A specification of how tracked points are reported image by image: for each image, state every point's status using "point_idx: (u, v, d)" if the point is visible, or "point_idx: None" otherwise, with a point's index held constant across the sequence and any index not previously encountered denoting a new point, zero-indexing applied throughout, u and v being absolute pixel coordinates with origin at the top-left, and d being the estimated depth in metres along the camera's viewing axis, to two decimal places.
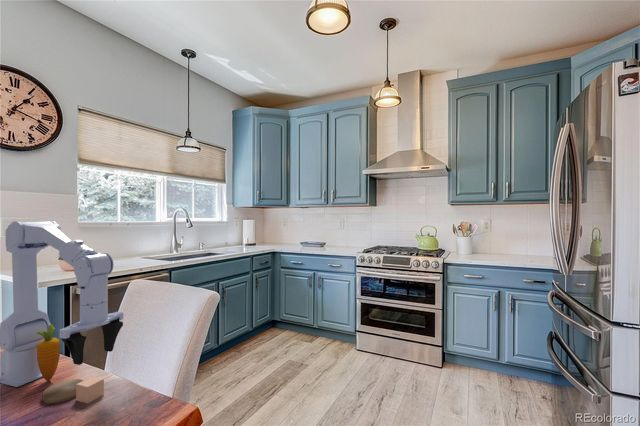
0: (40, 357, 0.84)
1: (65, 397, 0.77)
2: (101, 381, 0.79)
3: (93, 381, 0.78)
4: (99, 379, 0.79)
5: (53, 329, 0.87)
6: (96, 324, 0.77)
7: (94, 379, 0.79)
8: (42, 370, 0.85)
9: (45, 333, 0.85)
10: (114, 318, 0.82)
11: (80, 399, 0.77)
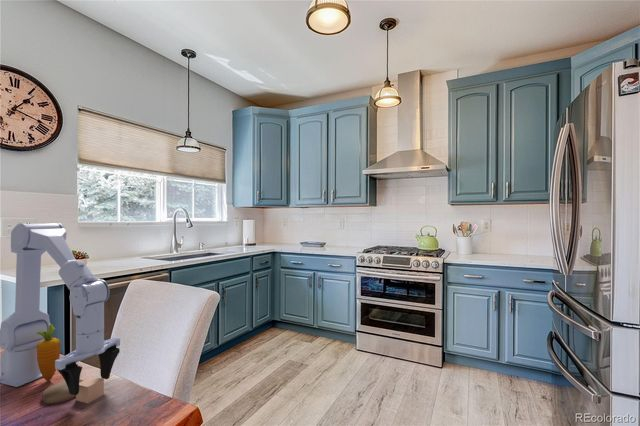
0: (40, 357, 0.84)
1: (65, 397, 0.77)
2: (101, 381, 0.79)
3: (93, 381, 0.78)
4: (99, 379, 0.79)
5: (53, 329, 0.87)
6: (92, 353, 0.76)
7: (94, 379, 0.79)
8: (42, 370, 0.85)
9: (45, 333, 0.85)
10: (110, 345, 0.82)
11: (80, 399, 0.77)
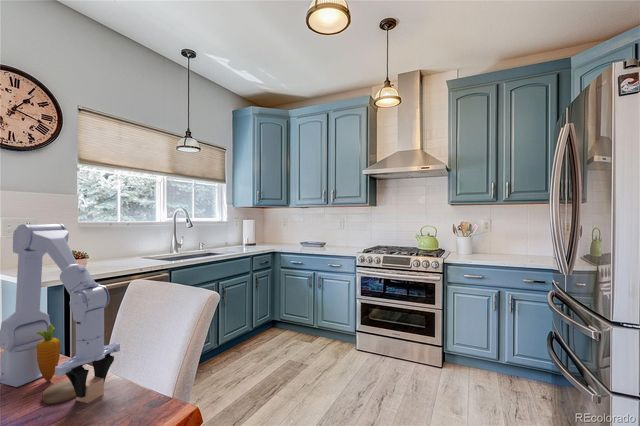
0: (40, 357, 0.84)
1: (65, 397, 0.77)
2: (101, 381, 0.79)
3: (93, 381, 0.78)
4: (99, 379, 0.79)
5: (53, 329, 0.87)
6: (92, 359, 0.76)
7: (94, 379, 0.79)
8: (42, 370, 0.85)
9: (45, 333, 0.85)
10: (110, 351, 0.82)
11: (80, 399, 0.77)
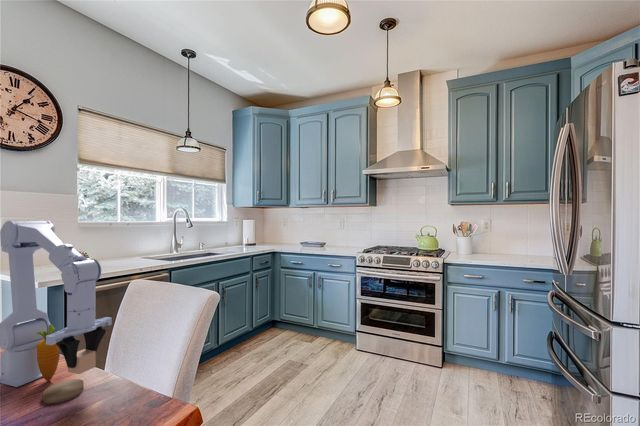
0: (40, 357, 0.84)
1: (65, 397, 0.77)
2: (93, 353, 0.80)
3: (85, 353, 0.79)
4: (91, 351, 0.80)
5: (53, 329, 0.87)
6: (83, 330, 0.77)
7: (86, 351, 0.80)
8: (42, 370, 0.85)
9: (45, 333, 0.85)
10: (102, 324, 0.82)
11: (72, 370, 0.77)
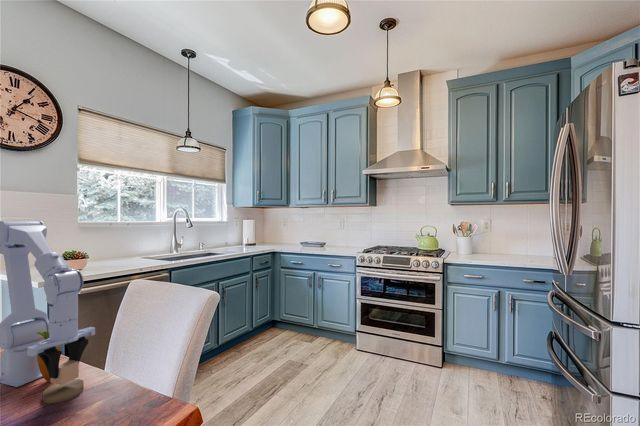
0: None
1: (65, 397, 0.77)
2: (76, 363, 0.81)
3: (68, 363, 0.80)
4: (74, 361, 0.81)
5: None
6: (65, 341, 0.78)
7: (69, 362, 0.81)
8: (42, 370, 0.85)
9: (45, 333, 0.85)
10: (85, 334, 0.83)
11: (54, 380, 0.78)
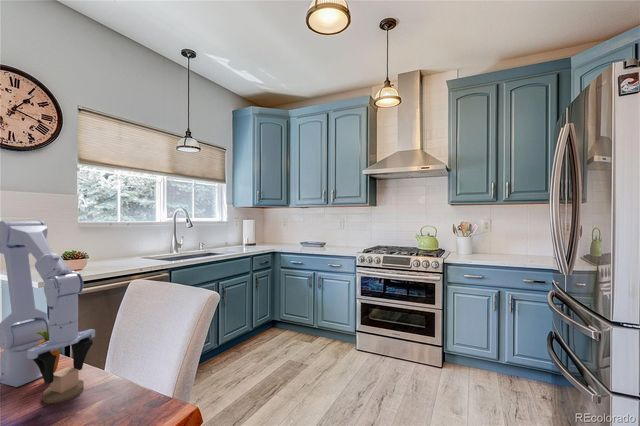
0: None
1: (65, 397, 0.77)
2: (75, 371, 0.81)
3: (67, 371, 0.80)
4: (74, 369, 0.81)
5: None
6: (65, 344, 0.78)
7: (69, 370, 0.81)
8: None
9: (45, 333, 0.85)
10: (85, 336, 0.83)
11: (54, 389, 0.78)
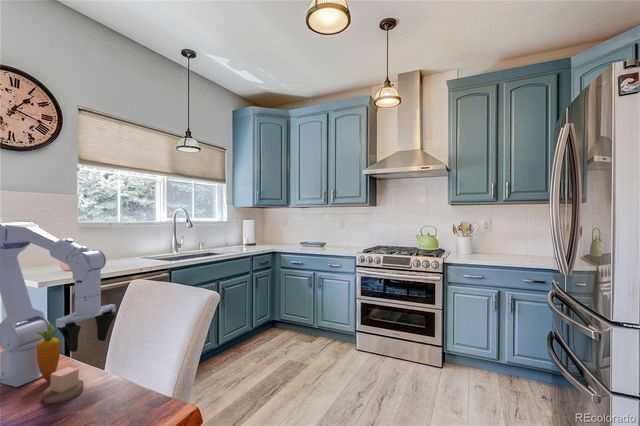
0: (40, 357, 0.84)
1: (65, 397, 0.77)
2: (76, 371, 0.81)
3: (68, 371, 0.80)
4: (74, 369, 0.81)
5: (53, 329, 0.87)
6: (90, 315, 0.84)
7: (69, 369, 0.81)
8: (42, 370, 0.85)
9: (45, 333, 0.85)
10: (107, 310, 0.89)
11: (54, 388, 0.78)
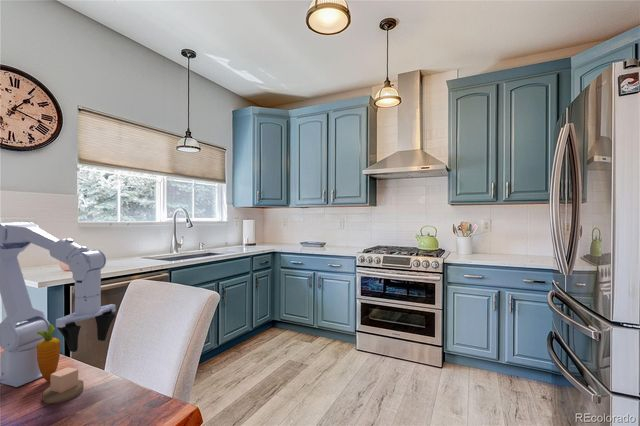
0: (40, 357, 0.84)
1: (65, 397, 0.77)
2: (75, 371, 0.81)
3: (67, 371, 0.80)
4: (73, 369, 0.81)
5: (53, 329, 0.87)
6: (90, 315, 0.84)
7: (69, 370, 0.81)
8: (42, 370, 0.85)
9: (45, 333, 0.85)
10: (107, 310, 0.89)
11: (54, 389, 0.78)
